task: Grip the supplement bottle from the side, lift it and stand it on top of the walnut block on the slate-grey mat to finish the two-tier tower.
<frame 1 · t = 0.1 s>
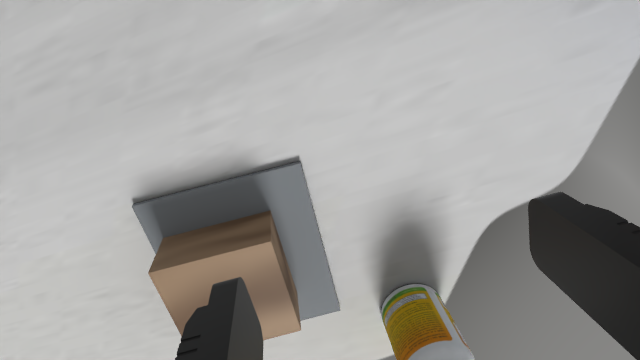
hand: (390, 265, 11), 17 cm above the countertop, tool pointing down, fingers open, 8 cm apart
supplement bottle: (409, 304, 35), on the countertop
mat: (246, 260, 31), on the countertop
walnut block: (234, 267, 31), resting on mat
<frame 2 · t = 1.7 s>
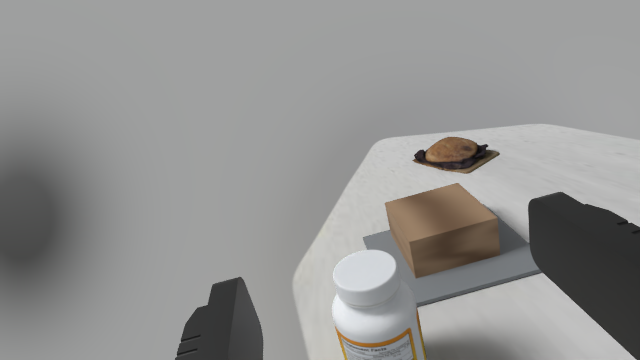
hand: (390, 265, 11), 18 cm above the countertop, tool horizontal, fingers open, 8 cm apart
mat: (445, 252, 39), on the countertop
bread roll: (454, 162, 59), on the countertop
walnut block: (440, 243, 40), resting on mat
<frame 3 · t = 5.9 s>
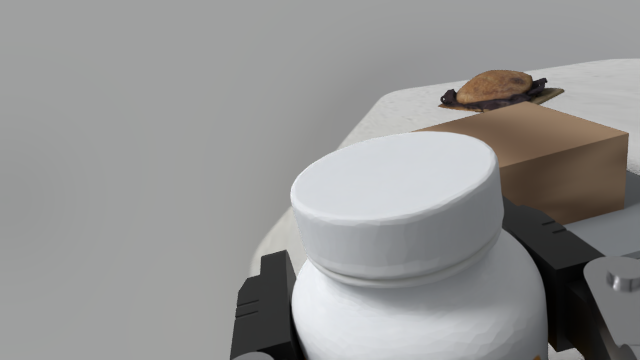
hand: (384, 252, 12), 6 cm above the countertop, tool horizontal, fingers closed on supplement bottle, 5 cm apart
mat: (513, 210, 23), on the countertop
bread roll: (496, 105, 42), on the countertop
walnut block: (503, 197, 23), resting on mat
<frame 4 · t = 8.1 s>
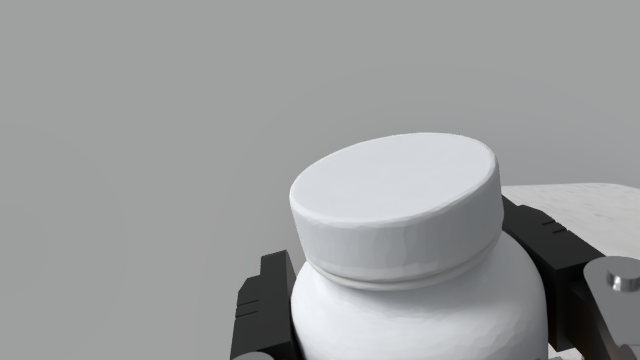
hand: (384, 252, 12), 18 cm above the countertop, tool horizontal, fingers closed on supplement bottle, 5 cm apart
when the fingers open (11 cm above the countertop, at t = 10.5 s): supplement bottle stays where it is, resting on walnut block.
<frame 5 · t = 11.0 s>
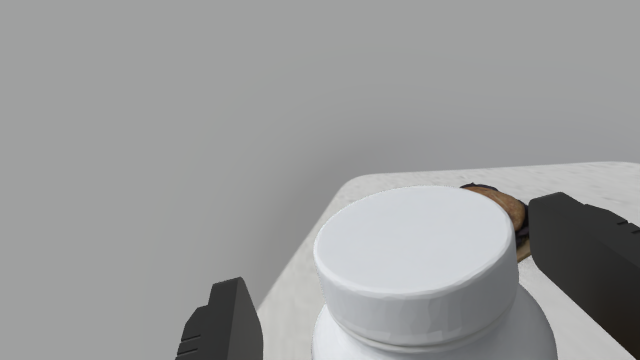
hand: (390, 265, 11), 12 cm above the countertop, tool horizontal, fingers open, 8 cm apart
bread roll: (479, 232, 33), on the countertop
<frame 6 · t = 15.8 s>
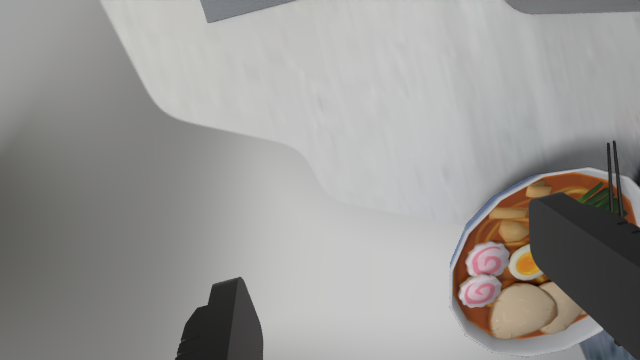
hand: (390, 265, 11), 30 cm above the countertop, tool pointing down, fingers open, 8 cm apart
ramen bowl: (514, 235, 48), on the countertop
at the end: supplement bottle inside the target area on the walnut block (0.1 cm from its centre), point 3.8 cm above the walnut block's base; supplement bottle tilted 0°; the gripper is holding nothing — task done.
